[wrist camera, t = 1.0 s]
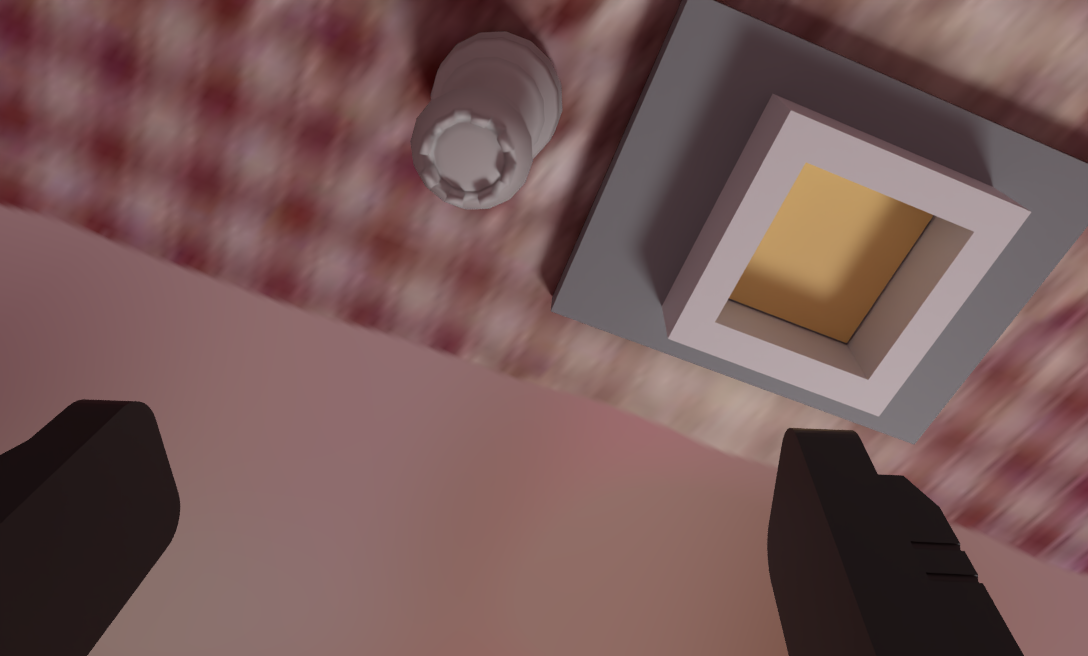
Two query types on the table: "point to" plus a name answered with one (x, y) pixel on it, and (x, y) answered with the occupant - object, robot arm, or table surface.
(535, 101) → the rook chess piece
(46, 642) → the robot arm
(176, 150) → the table surface
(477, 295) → the table surface
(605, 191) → the square frame on plate
